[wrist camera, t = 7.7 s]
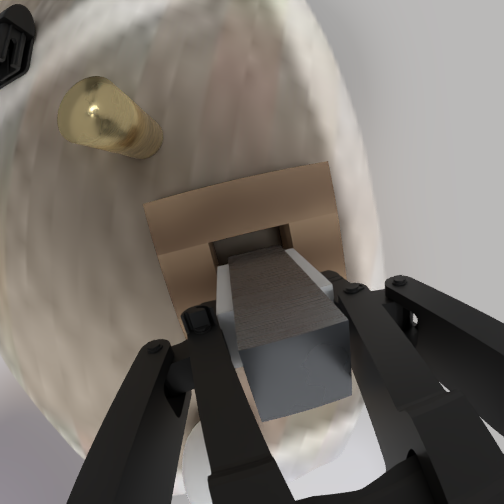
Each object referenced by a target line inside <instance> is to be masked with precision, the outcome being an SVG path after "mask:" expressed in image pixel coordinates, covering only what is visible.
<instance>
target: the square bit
mask: <svg viewBox="0 0 504 504" xmlns="http://www.w3.org/2000/svg"><path fill="white" fill-rule="evenodd" d="M228 264H229V274H230V283H231V293H232V302H233V311H234V319H235V328H236V336H237V345H238V352H239V355H240V358H241V361H242V364H243V367H244V370H245V373H246V376H247V380H248V383H249V386H250V389H251V392H252V395H253V397H254V400H255V403H256V406H257V409H258V412H259V415H260V418H261V421H262V422H265V421H269V420H273V419H277V418H281V417H285V416H289V415H292V414H296V413H299V412H303V411H306V410H309V409H313V408H316V407H319V406H322V405H325V404H328V403H331V402H334V401H337V400H340V399H342V398H345V397H348V396H351V395H352V378H351V352H350V334H349V320H348V319H347V317H346V316H345V315H344V314H343V313H342V312H341V311H340V310H339V309H338V308H337V306H336V305H335V304H334V303H333V302H332V301H331V300H330V299H329V298H328V297H327V295H326V294H325V293H324V292H323V291H322V290H321V289H320V288H319V287H318V286H317V285H316V283H315V282H314V281H313V280H312V279H311V278H310V277H309V276H308V275H307V274H306V273H305V272H304V271H303V269H302V268H301V267H300V266H299V265H298V264H297V263H296V262H295V261H294V260H293V259H292V258H291V257H290V256H289V254H288V253H287V252H286V251H285V250H284V249H283V248H282V247H281V246H280V245H275V246H271V247H267V248H263V249H259V250H255V251H251V252H247V253H243V254H239V255H235V256H231V257H228Z"/></svg>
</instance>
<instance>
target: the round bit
mask: <svg viewBox="0 0 504 504" xmlns="http://www.w3.org/2000/svg"><path fill="white" fill-rule="evenodd" d="M57 122H58V128H59V131H60V133H61V134H62V136H63V137H64V138H65V139H66V140H68V141H69V142H72V143H75V144H80V145H84V146H89V147H93V148H97V149H101V150H106V151H110V152H114V153H118V154H122V155H126V156H130V157H133V158H137V159H145V158H148V157H150V156H152V155H154V154H155V153H156V152H157V151H158V150H159V148H160V146H161V144H162V141H163V132H162V129H161V127H160V126H159V124H158V123H156V122H155V121H154V120H153V119H152V118H151V117H150V116H149V115H148V114H147V113H145V112H144V111H143V110H142V109H141V108H140V107H139V106H138V105H137V104H135V103H134V102H133V101H132V100H131V99H130V98H129V97H128V96H127V95H125V94H124V93H123V92H122V91H121V90H120V89H119V88H117V87H116V86H115V85H114V84H113V83H112V82H111V81H109V80H108V79H106V78H104V77H99V76H93V77H88V78H85V79H83V80H81V81H79V82H78V83H76V84H75V85H74V86H73V87H72V88H71V89H70V90H69V91H68V92H67V93H66V95H65V96H64V98H63V100H62V102H61V104H60V107H59V110H58V117H57Z"/></svg>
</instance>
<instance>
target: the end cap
mask: <svg viewBox="0 0 504 504" xmlns="http://www.w3.org/2000/svg"><path fill="white" fill-rule="evenodd" d="M34 34H35V25H34V20H33V17H32V15H31V13H30V11H29V10H28V9H27V8H26V7H25V6H23V5H20V4H15V5H12V6H10V7H9V8H7V9H6V10H4V11H3V12H1V13H0V89H1V88H3V87H4V86H6V85H7V84H9V83H11V82H12V81H14V80H16V79H17V78H19V77H21V76H22V75H24V74H26V73H27V72H28V70H29V67H30V61H31V55H32V49H33V44H34Z"/></svg>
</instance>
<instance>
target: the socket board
mask: <svg viewBox="0 0 504 504" xmlns="http://www.w3.org/2000/svg"><path fill="white" fill-rule="evenodd" d="M143 207H144V211H145V215H146V218H147V222H148V226H149V229H150V233H151V236H152V240H153V243H154V247H155V250H156V253H157V257H158V260H159V263H160V267H161V270H162V273H163V276H164V279H165V282H166V285H167V288H168V291H169V294H170V297H171V300H172V303H173V306H174V308H175V311H176V314H177V317H178V319H179V322H180V325H181V328H182V330H183V333H184V335H185V338H186V340H187V333H186V330H185V328H184V325H183V322H182V319H181V317H180V316H181V313H183V312H184V311H185V310H186V309H188V308H190V307H193V306H196V305H200V304H201V303H204V302H208V301H212V300H216V298H217V267H218V266H219V263H218V259H217V256H216V252H215V248H214V244H213V241H217V240H221V239H226V238H230V237H234V236H238V235H242V234H246V233H250V232H254V231H258V230H263V229H267V228H271V227H275V226H279V230H280V235H281V240H282V245H283V249H284V250H287V249H291V248H293V249H294V250H296V251H297V252H298V253H299V254H300V255H301V256H302V257H303V258H304V259H306V260H307V261H308V262H309V263H310V264H311V265H312V266H313V267H314V268H315V269H316V270H318V271H319V272H323V271H327V270H331V271H335V272H337V273H338V274H339V275H340V276H342V277H343V278H344V279H346V270H345V262H344V254H343V246H342V239H341V232H340V225H339V219H338V213H337V207H336V201H335V195H334V190H333V184H332V179H331V174H330V169H329V164H328V161H327V162H321V163H315V164H309V165H304V166H298V167H293V168H288V169H282V170H277V171H272V172H268V173H263V174H258V175H253V176H249V177H244V178H240V179H236V180H231V181H227V182H223V183H219V184H215V185H211V186H207V187H203V188H199V189H195V190H191V191H187V192H184V193H180V194H176V195H173V196H169V197H166V198H162V199H159V200H155V201H152V202H149V203H145V204H143ZM346 280H347V279H346Z"/></svg>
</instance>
